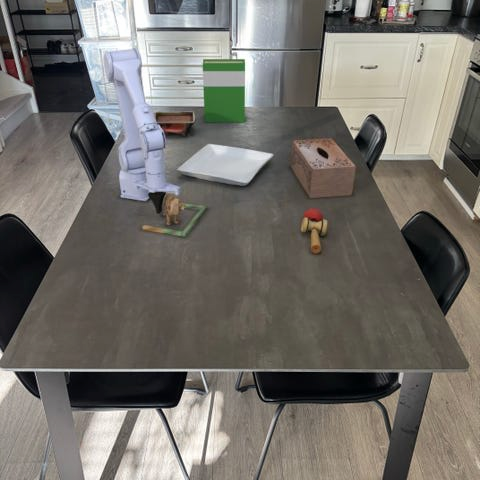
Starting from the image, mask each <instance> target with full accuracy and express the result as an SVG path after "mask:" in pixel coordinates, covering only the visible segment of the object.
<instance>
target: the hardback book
mask: <svg viewBox="0 0 480 480" xmlns="http://www.w3.org/2000/svg"><path fill="white" fill-rule="evenodd" d="M202 61H203V62H202V83H203V84H202V85H203V87H202V89H203V111H204V112H203V113H204V115H203V116H204V123H245V121H246V59H245V58H203V59H202Z"/></svg>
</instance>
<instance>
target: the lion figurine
mask: <svg viewBox="0 0 480 480" xmlns="http://www.w3.org/2000/svg"><path fill="white" fill-rule="evenodd" d="M180 200H181V199H180V198H176V197H175V194H173V193H166V194H165V197H164V212H163V214H162V215H163V216H166V225H167V226H170V225H171V223H172V222H171V218H173V222H174V223H175V224H179V223H180V221H179V220H178V216H179V215H180V213H184V210H185V209H186V208H185V206H184V205H182V203H183V202H181V201H180Z"/></svg>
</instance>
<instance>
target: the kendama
mask: <svg viewBox="0 0 480 480" xmlns="http://www.w3.org/2000/svg"><path fill="white" fill-rule="evenodd" d="M300 228H301V229H300V231H301V233H304V234H306V232H310V231H311V233H310V251H311V253H313V254H319V253H320V252H321V251H322V245H321V241H320V236H321V237H324V236H325V235H326V233H327V230H328V229H327V228H328V220H327V219H324V216H323V213H322V212H321V210H319V209H317V208H309V209H307V210H305V212H304V213H303V216H302V223H301V227H300Z"/></svg>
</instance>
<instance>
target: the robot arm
mask: <svg viewBox="0 0 480 480" xmlns="http://www.w3.org/2000/svg"><path fill="white" fill-rule="evenodd" d="M102 59H103V60H102V61H103V66H104V72H105V76H106V78H107V82H109V83H112V84H113V87H114V89H115V96H116V100H117V104H118V110H119V115H120V120H121V125H122V131H123V134H124V140H123V141H122V142H121V143H120V144H119V145H118V149H117V150H118V161H119V166H120V168H121V169H120V171H119V176H118V180H119V187H120V193H121V194H120V198H122V199H128V200H136V201H142V202H147V201H148V200H149V199H150V200H151V202H152V204H153V206H154V208H155V212H156V214H157V215H160V214H161V213H162V212H163V204H164V201H165V197H166V195H167V194H172V195H174V196H180V194H181V193H182V191H181V186H178V185H174V184H172V183H169V182H167V177H166V166H165V165H166V163H165V154H164V149H166V147H167V139H166V134H164V132H163V130H162V128H161V127H160V125H158V124H157V122H156V119H155V116H154V113H155V112H154V110H153V107H152V105H150V104H149V103H147V102H146V97H145V93H144V90H143V85H142V82H141V81H142V80H141V78H140V77H141V74H142V67H143V61H142V55H141V53H140V51H139V49H137V48H136V47H133V48H130V49H120V50H112V51H110V50H109V51H108V50H106V51H105V52H104V53H103V58H102Z"/></svg>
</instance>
